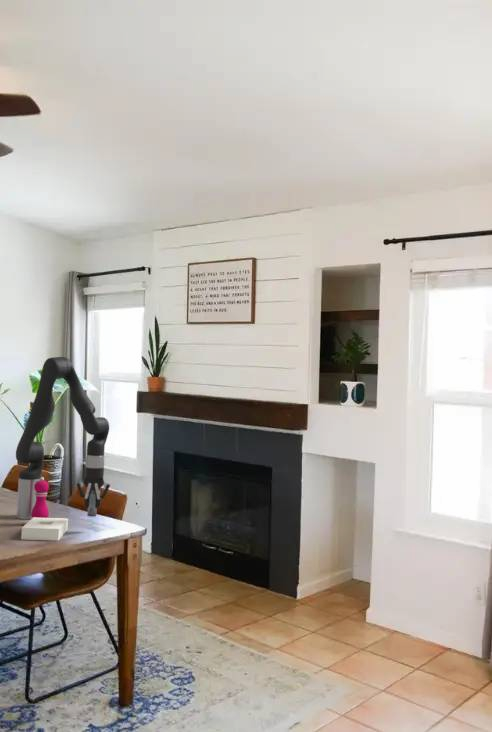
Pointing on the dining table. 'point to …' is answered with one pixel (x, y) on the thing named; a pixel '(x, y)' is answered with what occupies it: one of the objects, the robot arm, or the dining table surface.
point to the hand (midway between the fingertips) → (92, 507)
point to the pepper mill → (40, 499)
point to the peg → (92, 504)
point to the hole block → (44, 529)
